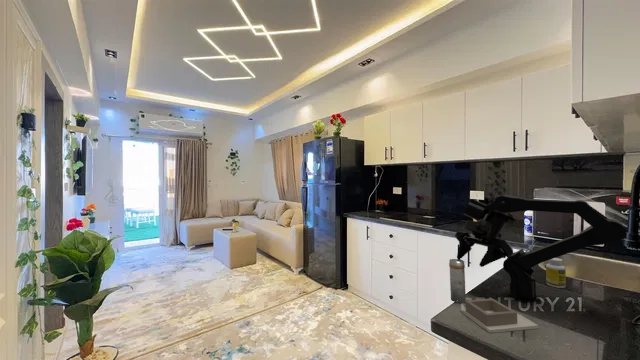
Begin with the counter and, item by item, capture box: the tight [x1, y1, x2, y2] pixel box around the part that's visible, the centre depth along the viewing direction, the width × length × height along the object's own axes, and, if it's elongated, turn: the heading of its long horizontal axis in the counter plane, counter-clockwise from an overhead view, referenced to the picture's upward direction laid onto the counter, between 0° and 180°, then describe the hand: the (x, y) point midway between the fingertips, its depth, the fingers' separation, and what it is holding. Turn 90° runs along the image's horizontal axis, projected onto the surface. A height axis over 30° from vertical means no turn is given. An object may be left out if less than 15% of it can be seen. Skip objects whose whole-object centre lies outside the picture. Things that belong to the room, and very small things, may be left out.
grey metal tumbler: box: [448, 258, 467, 304], centre depth 88 cm, size 5×5×13 cm
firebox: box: [459, 298, 539, 334], centre depth 76 cm, size 14×12×4 cm
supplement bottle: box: [545, 257, 567, 289], centre depth 98 cm, size 5×5×10 cm
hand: (468, 262), depth 90 cm, fingers open, 9 cm apart
